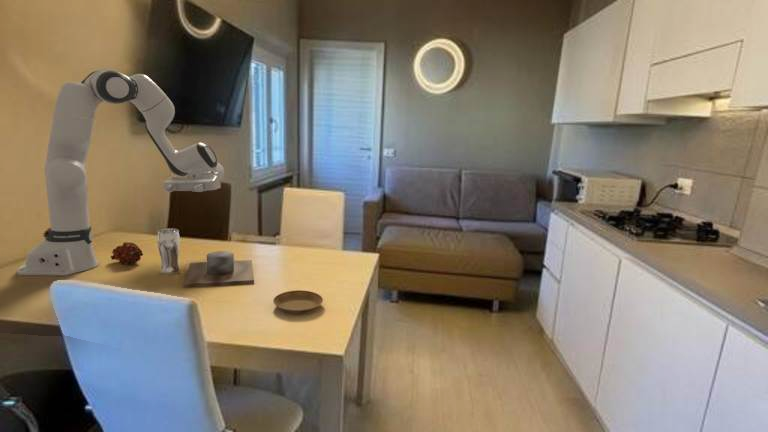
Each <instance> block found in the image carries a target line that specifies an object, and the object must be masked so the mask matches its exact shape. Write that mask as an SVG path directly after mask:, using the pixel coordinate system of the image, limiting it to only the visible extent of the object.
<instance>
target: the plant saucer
mask: <svg viewBox="0 0 768 432" xmlns="http://www.w3.org/2000/svg"><path fill="white" fill-rule="evenodd" d="M272 301H273V302H272V303H273V304H274V305H275V307H276V308H277V309H278V310H280V312H282V313H284V314H287V315H293V316H294V315H295V316H299V315H300V316H301V315H306V314H309V313H312V312H315V310H317V309H318V308H319V307H320V306H321V305H322V303H323V301H324V298H323V297H322V296H321V295H320V294H319V293H317V292H313V291H309V290H303V289H301V290H290V291H289V290H288V291H285V292H281V293H279V294H277V295H275V297H274V298H273V299H272Z"/></svg>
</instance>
